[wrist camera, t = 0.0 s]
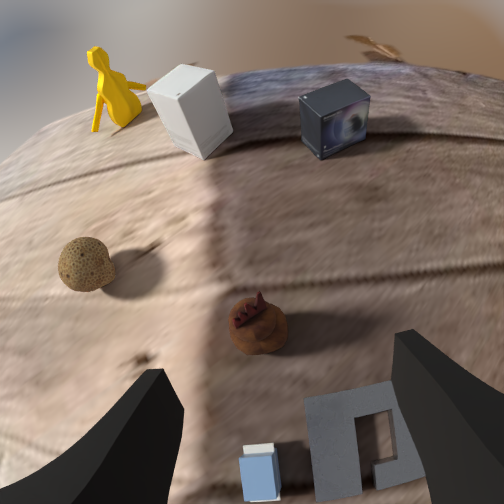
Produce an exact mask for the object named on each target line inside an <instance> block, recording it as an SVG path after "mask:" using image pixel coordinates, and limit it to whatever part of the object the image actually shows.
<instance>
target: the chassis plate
mask: <svg viewBox="0 0 504 504" xmlns="http://www.w3.org/2000/svg"><path fill="white" fill-rule="evenodd" d="M304 405H305V413H306V420H307V428H308V436H309V444H310V452H311V460H312V469H313V477H314V486H315V495H316V502H322V501H328V500H334V499H339V498H345V497H350V496H355V495H359V494H362V484H361V474H360V464H359V455H358V446H357V438H356V430H355V423H354V418H356V417H360V416H365V415H369V414H373V413H377V412H381V411H385V410H388V417H389V424H390V432H391V440H392V449H393V456H392V457H388V458H384V459H380V460H376V461H372V462H371V467H372V477H373V486H374V487H375V489H376V490H381V489H384V488H388V487H392V486H395V485H399V484H402V483H406V482H409V481H412V480H415V479H418V478H421V477H424V476H426V475H425V471H424V468H423V465H422V462H421V459H420V457H419V454H418V452H417V449H416V447H415V444H414V442H413V439H412V437H411V435H410V432H409V430H408V428H407V425H406V423H405V420H404V418H403V416H402V413H401V411H400V408H399V406H398V402H397V399H396V396H395V392H394V388H393V385H392V381H391V380H390V381H386V382H382V383H377V384H373V385H369V386H365V387H360V388H356V389H351V390H346V391H341V392H336V393H331V394H325V395H320V396H314V397H308V398H304Z"/></svg>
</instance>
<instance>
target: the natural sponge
mask: <svg viewBox="0 0 504 504" xmlns="http://www.w3.org/2000/svg"><path fill="white" fill-rule="evenodd" d="M58 271H59V275H60V278H61V280H62V281H63V282H64V283H65V285H67V286H68V287H69V288H70V289H72V290H74V291H81V292H90V291H94V290H96V289H99V288H101V287H102V286H105V285H107V284H109V283H110V282H112V281H113V280H114V278H115V275H116V272H115V267H114V264H113V262H112V261H111V259H110V257H109V253H108V250H107V247H106V246H105V245H104V244H103V243H102V242H101V241H100V240H98V239H95V238H91V237H80V238H76V239H74V240H72V241H71V242H69V243H68V244H67V245H66V246H65V247H64V249H63V251H62V253H61V255H60V258H59V263H58Z"/></svg>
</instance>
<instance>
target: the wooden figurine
mask: <svg viewBox="0 0 504 504" xmlns="http://www.w3.org/2000/svg"><path fill="white" fill-rule="evenodd" d="M228 321H229V331H230V336H231V339H232V341H233V342H234V344H235V346H236V347H237V348H238V349H239V350H241V351H242V352H244V353H245V354H246V355H261V354H266V353H270V352H273V351H276V350H277V349H279V348H281V347H283V346H284V344H285V342H286V340H287V339H288V325H287V321H286V317H285V315H284V313H283V312H282V311H281V309H280V308H278V307H277V306H275V305H273V304H269V303H268V302H266V301H264V299H263V297H262V294H261V292H260V291H259V292H258V293H257V295H256V298H245V299H243V300H241V301H239V302H238V303H237V304H236V305H235V306H234V307H233V308H232V310H231V312H230V315H229V319H228Z"/></svg>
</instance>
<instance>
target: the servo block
mask: <svg viewBox="0 0 504 504" xmlns="http://www.w3.org/2000/svg"><path fill="white" fill-rule="evenodd" d="M243 450H244V454H243V455H242V456H241V457H240V458H239V463H240V471H241V479H242V487H243V494H244V501H250V502H261V501H276V500H280V489H281V479H280V471H279V462H278V454H277V448H274V443H265V444H253V445H243Z"/></svg>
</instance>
